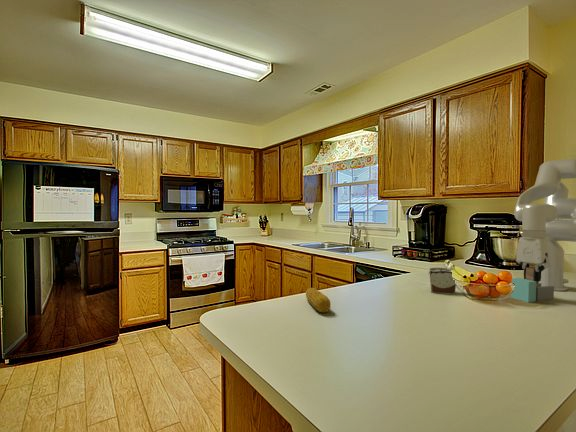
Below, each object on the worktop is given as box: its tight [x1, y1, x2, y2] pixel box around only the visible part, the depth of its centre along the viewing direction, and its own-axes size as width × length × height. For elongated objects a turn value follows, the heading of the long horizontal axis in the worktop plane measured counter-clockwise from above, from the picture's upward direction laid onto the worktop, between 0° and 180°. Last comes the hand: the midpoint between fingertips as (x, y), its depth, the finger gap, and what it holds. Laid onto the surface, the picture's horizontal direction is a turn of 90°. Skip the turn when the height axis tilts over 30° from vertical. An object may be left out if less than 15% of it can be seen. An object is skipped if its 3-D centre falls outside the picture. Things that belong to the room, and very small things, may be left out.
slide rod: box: [526, 266, 539, 287], centre depth 129 cm, size 7×3×9 cm, turn 108°
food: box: [305, 287, 331, 313], centre depth 117 cm, size 21×6×6 cm, turn 12°
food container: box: [427, 267, 457, 295], centre depth 139 cm, size 12×6×10 cm, turn 84°
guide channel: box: [536, 283, 555, 302], centre depth 131 cm, size 9×6×5 cm, turn 108°
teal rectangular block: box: [510, 277, 537, 303], centre depth 128 cm, size 4×7×8 cm, turn 18°
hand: (532, 279), depth 129 cm, fingers closed on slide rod, 3 cm apart
